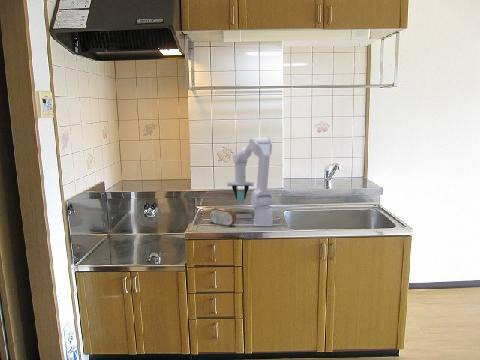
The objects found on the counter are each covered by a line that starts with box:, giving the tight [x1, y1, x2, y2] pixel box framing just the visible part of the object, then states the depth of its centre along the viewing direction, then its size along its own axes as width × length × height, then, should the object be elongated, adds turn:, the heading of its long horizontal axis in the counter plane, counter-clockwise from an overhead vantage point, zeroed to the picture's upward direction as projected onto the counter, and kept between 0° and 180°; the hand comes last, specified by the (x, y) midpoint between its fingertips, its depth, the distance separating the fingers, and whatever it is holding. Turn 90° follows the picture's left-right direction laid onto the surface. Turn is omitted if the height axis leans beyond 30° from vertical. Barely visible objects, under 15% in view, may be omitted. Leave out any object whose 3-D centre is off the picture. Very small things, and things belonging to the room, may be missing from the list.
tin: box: [208, 206, 237, 227], centre depth 199 cm, size 15×3×8 cm, turn 59°
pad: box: [235, 213, 253, 221], centre depth 213 cm, size 9×8×1 cm
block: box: [236, 189, 245, 203], centre depth 219 cm, size 4×4×6 cm
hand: (240, 198), depth 220 cm, fingers closed on block, 4 cm apart
